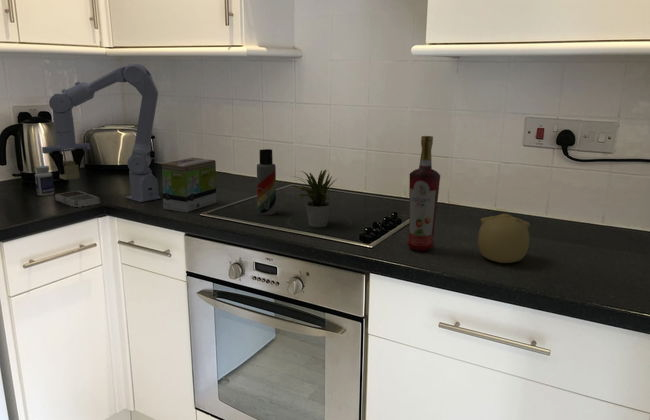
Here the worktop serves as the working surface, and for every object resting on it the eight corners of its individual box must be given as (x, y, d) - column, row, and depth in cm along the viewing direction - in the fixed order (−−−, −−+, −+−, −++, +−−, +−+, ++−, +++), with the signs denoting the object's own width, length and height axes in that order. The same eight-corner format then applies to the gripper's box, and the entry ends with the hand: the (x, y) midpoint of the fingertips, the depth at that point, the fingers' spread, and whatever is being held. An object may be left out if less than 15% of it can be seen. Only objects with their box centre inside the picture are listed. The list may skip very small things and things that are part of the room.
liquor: (438, 246, 134) (445, 135, 127) (431, 255, 127) (439, 139, 120) (409, 242, 137) (415, 134, 130) (402, 251, 130) (408, 137, 123)
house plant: (298, 215, 161) (298, 162, 157) (343, 218, 159) (345, 164, 154) (287, 228, 147) (287, 171, 143) (336, 232, 145) (337, 173, 141)
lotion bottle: (259, 215, 160) (257, 150, 155) (256, 211, 165) (255, 147, 160) (277, 214, 162) (276, 149, 156) (274, 210, 167) (273, 147, 162)
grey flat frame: (100, 203, 172) (99, 197, 172) (75, 208, 166) (75, 201, 166) (79, 196, 182) (78, 190, 181) (55, 200, 176) (54, 194, 175)
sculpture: (526, 253, 129) (531, 211, 127) (527, 270, 118) (533, 224, 116) (477, 248, 133) (481, 207, 130) (474, 264, 122) (478, 219, 119)
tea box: (188, 213, 162) (186, 165, 158) (162, 209, 166) (159, 163, 162) (217, 203, 175) (216, 158, 172) (193, 199, 179) (191, 156, 176)
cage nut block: (79, 177, 175) (77, 161, 173) (65, 179, 172) (63, 163, 170) (73, 176, 178) (71, 159, 176) (59, 178, 174) (57, 161, 173)
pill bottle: (57, 192, 186) (54, 165, 184) (48, 196, 181) (45, 168, 179) (43, 192, 187) (39, 165, 184) (33, 195, 182) (30, 167, 179)
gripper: (81, 129, 178) (85, 168, 182) (36, 132, 168) (41, 174, 171) (91, 130, 174) (95, 171, 177) (45, 134, 163) (50, 177, 167)
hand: (69, 173), depth 174 cm, fingers closed on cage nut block, 4 cm apart
